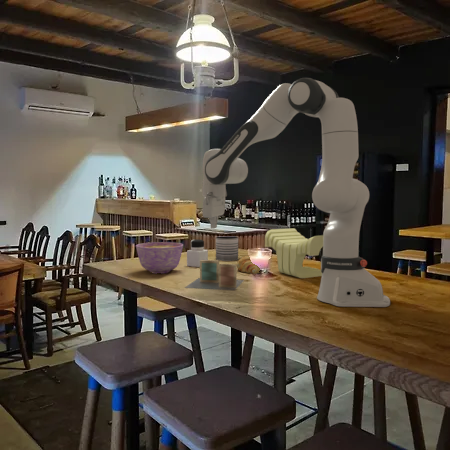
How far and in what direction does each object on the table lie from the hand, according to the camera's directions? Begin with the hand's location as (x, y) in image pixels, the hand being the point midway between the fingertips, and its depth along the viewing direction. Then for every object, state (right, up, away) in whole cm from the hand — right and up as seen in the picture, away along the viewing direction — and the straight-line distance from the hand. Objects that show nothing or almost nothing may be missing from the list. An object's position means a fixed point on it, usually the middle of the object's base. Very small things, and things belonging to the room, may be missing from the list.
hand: (213, 228), depth 179 cm
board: (+1, -21, -8) cm, 23 cm away
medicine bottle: (-8, -18, +36) cm, 41 cm away
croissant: (+14, -19, +22) cm, 33 cm away
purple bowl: (-23, -19, +20) cm, 36 cm away
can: (+5, -16, +55) cm, 58 cm away
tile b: (+5, -21, -13) cm, 25 cm away
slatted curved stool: (+36, -20, +14) cm, 43 cm away
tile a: (-1, -20, -5) cm, 21 cm away
